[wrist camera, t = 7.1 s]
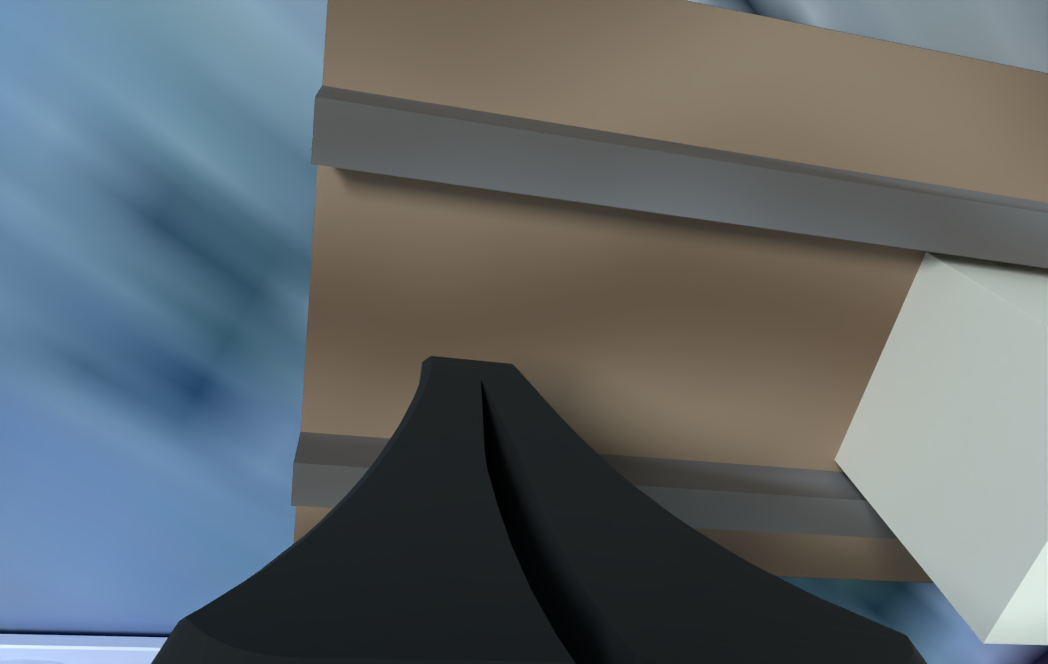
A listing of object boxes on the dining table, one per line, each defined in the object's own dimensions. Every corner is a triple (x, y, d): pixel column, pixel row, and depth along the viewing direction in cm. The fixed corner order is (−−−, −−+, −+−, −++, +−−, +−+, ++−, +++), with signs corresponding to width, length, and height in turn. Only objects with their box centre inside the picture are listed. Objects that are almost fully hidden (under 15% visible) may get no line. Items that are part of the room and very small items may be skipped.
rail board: (1090, 551, 22) (1241, 687, 18) (302, 509, 17) (269, 675, 13) (1366, 137, 17) (1665, 199, 13) (341, -69, 12) (305, -74, 8)
